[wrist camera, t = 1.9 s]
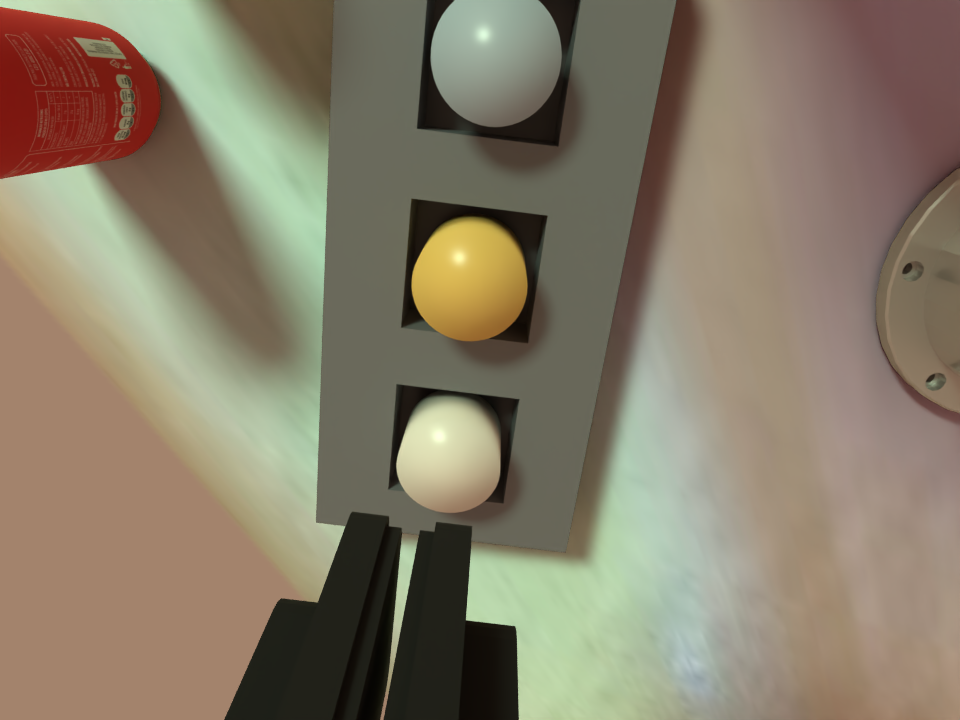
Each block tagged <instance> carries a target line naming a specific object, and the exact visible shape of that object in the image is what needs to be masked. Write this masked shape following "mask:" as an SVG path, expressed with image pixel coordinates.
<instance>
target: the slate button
mask: <svg viewBox="0 0 960 720" xmlns="http://www.w3.org/2000/svg"><path fill="white" fill-rule="evenodd" d="M561 59H562V51H561V42H560V37H559V33H558V29H557V27H556V25H555V22H554V20H553V18H552V17H551V15H550V13H549V12H548V10H547V9H546V8H545V7H544V5H543V4H542V3H541V2H540V1H539V0H455V1H454V2H453V3H452V4H451V5H450V6H449V7H448V8H447V9H446V11H445V12H444V13H443V15H442V17H441V19H440V20H439V22H438V24H437V27H436V29H435V32H434V36H433V39H432V46H431V67H432V72H433V77H434V80H435V83H436V86H437V88H438V90H439V92H440V94H441V95H442V97H443V98H444V100H445V101H446V102H447V104H448V105H449V106H450V107H451V108H452V109H453V110H454V111H455V112H456V113H457V114H459V115H460V116H462V117H463V118H465V119H467V120H469V121H471V122H473V123H476V124H479V125H483V126H488V127H503V126H508V125H513V124H515V123H518V122H521V121H523V120H525V119H526V118H528V117H530V116H531V115H532V114H534V113H535V112H536V111H537V110H538V109H539V108H541V107H542V105H543V104H544V103H545V102H546V101H547V99H548V98H549V96H550V95H551V93H552V91H553V89H554V87H555V85H556V82H557V79H558V77H559V73H560V68H561Z"/></svg>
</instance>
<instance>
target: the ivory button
mask: <svg viewBox="0 0 960 720" xmlns="http://www.w3.org/2000/svg"><path fill="white" fill-rule="evenodd" d="M500 457H501V426H500V422H499V419H498V416H497V414H496V412H495V410H494V409H493V408H492V406H491V405H490V404H489V403H488V402H487V401H486V400H484V399H483V398H482V397H480V396H478V395H477V394H473V393H465V392H457V391H449V390H439V391H436V392H433V393H431V394H429V395H427V396H426V397H424V398H423V399H422V400H420V401H419V402H418V403H417V405H416V406H415V407H414V409H413V410H412V412H411V414H410V417H409V420H408V423H407V426H406V430H405V433H404V437H403V440H402V443H401V447H400V450H399V453H398V457H397V475H398V478H399V481H400V483H401V485H402V487H403V489H404V490H405V492H406V493H407V494H408V495H409V496H410V497H411V498H412V499H413V500H414V501H416V502H417V503H418V504H420V505H422V506H424V507H426V508H428V509H431V510H434V511H438V512H444V513H457V512H463V511H467V510H470V509H472V508H475V507H477V506H478V505H480V504H481V503H483V502H484V501H485V500H486V499H488V498H489V497H490V495H491V494H492V493H493V491H494V490H495V488H496V486H497V484H498V481H499V477H500Z"/></svg>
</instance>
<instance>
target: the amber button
mask: <svg viewBox="0 0 960 720" xmlns="http://www.w3.org/2000/svg"><path fill="white" fill-rule="evenodd" d="M412 294H413V298H414V302H415V304H416V307H417V309H418V311H419V313H420V314H421V316H422V317H423V318H424V320H425V321H426V322H427V323H428V324H429V325H430V326H431V327H432V328H434V329H435V330H436V331H438V332H439V333H441V334H443V335H445V336H447V337H449V338H453V339H456V340H461V341H480V340H485V339H488V338H491V337H494V336H496V335H498V334H500V333H501V332H503V331H504V330H506V329H507V328H508V327H509V326H510V325H511V324H512V323H513V322H514V321H515V320H516V319H517V317H518V316H519V314H520V312H521V311H522V309H523V306H524V303H525V300H526V296H527V274H526V265H525V257H524V252H523V249H522V246H521V244H520V242H519V240H518V238H517V237H516V235H515V234H514V233H513V232H512V230H511V229H510V228H509V227H507V226H506V225H505V224H504V223H502V222H501V221H499V220H497V219H495V218H493V217H490V216H487V215H483V214H474V213H471V214H463V215H458V216H456V217H453V218H451V219H449V220H447V221H445V222H444V223H442V224H441V225H440V226H439V227H438V228H436V229H435V231H434V232H433V233H432V234H431V236H430V237H429V239H428V241H427V243H426V244H425V246H424V248H423V250H422V252H421V254H420V256H419V258H418V260H417V262H416V264H415V267H414V270H413V275H412Z"/></svg>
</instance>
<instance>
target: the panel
mask: <svg viewBox="0 0 960 720" xmlns="http://www.w3.org/2000/svg"><path fill="white" fill-rule="evenodd" d="M454 1H455V0H334V11H333V40H332V70H331V99H330V128H329V158H328V187H327V216H326V246H325V275H324V304H323V334H322V363H321V392H320V422H319V451H318V480H317V510H316V523H324V524H333V525H341V526H346V524H347V521H348V519H349V516H350V514H351V512H360V513H369V514H377V515H385V516H389V526H391V527H400V528H402V533H407V534H415V535H419V533H420V530H424V531H433V532H434V531H435V525H436V522H442V523H451V524H459V525H467V526H472V540H471V541H474V542H482V543H490V544H498V545H507V546H515V547H523V548H532V549H540V550H548V551H556V552H565V553H566V548H567V544H568V539H569V534H570V529H571V524H572V519H573V514H574V509H575V504H576V499H577V494H578V489H579V484H580V479H581V474H582V469H583V464H584V459H585V454H586V449H587V444H588V439H589V434H590V429H591V424H592V419H593V414H594V409H595V404H596V399H597V394H598V389H599V384H600V379H601V374H602V369H603V364H604V359H605V354H606V349H607V344H608V339H609V334H610V329H611V324H612V319H613V314H614V309H615V304H616V299H617V294H618V289H619V284H620V279H621V274H622V269H623V264H624V259H625V254H626V249H627V244H628V239H629V234H630V229H631V224H632V219H633V214H634V209H635V204H636V199H637V194H638V189H639V184H640V179H641V174H642V169H643V164H644V159H645V154H646V149H647V144H648V139H649V134H650V129H651V124H652V119H653V114H654V110H655V105H656V100H657V95H658V90H659V85H660V80H661V75H662V70H663V65H664V60H665V55H666V50H667V45H668V40H669V35H670V30H671V25H672V20H673V15H674V10H675V5H676V0H539V1H540V2H541V3H542V4H543V5H544V7H545V8H546V9H547V10H548V12H549V13H550V15H551V17H552V18H553V20H554V22H555V25H556V27H557V29H558V33H559V37H560V42H561V51H562V59H561V68H560V73H559V77H558V79H557V82H556V85H555V87H554V89H553V91H552V93H551V95H550V96H549V98H548V99H547V101H546V102H545V103H544V104H543V105H542V107H541V108H539V109H538V110H537V111H536V112H535V113H534V114H532V115H531V116H530V117H528V118H526V119H525V120H523V121H521V122H518V123H515V124H513V125H508V126H503V127H488V126H483V125H479V124H476V123H473V122H471V121H469V120H467V119H465V118H463V117H462V116H460V115H459V114H457V113H456V112H455V111H454V110H453V109H452V108H451V107H450V106H449V105H448V104H447V102H446V101H445V100H444V98H443V97H442V95H441V94H440V92H439V90H438V88H437V86H436V83H435V80H434V77H433V72H432V67H431V46H432V39H433V36H434V32H435V29H436V27H437V24H438V22H439V20H440V19H441V17H442V15H443V13H444V12H445V11H446V9H447V8H448V7H449V6H450V5H451V4H452V3H453V2H454ZM471 213H474V214H483V215H487V216H490V217H493V218H495V219H497V220H499V221H501V222H502V223H504V224H505V225H506V226H507V227H509V228H510V229H511V230H512V232H513V233H514V234H515V235H516V237H517V238H518V240H519V242H520V244H521V246H522V249H523V252H524V257H525V265H526V274H527V296H526V300H525V303H524V306H523V309H522V311H521V312H520V314H519V316H518V317H517V319H516V320H515V321H514V322H513V323H512V324H511V325H510V326H509V327H508V328H507V329H506V330H504V331H503V332H501V333H500V334H498V335H496V336H494V337H491V338H488V339H485V340H480V341H461V340H456V339H453V338H449V337H447V336H445V335H443V334H441V333H439V332H438V331H436V330H435V329H434V328H432V327H431V326H430V325H429V324H428V323H427V322H426V321H425V320H424V318H423V317H422V316H421V314H420V313H419V311H418V309H417V307H416V304H415V302H414V298H413V294H412V275H413V270H414V267H415V264H416V262H417V260H418V258H419V256H420V254H421V252H422V250H423V248H424V246H425V244H426V243H427V241H428V239H429V237H430V236H431V234H432V233H433V232H434V231H435V229H436V228H438V227H439V226H440V225H441V224H442V223H444V222H445V221H447V220H449V219H451V218H453V217H456V216H458V215H463V214H471ZM439 390H449V391H457V392H465V393H473V394H477V395H478V396H480V397H482V398H483V399H484V400H486V401H487V402H488V403H489V404H490V405H491V406H492V408H493V409H494V410H495V412H496V414H497V416H498V419H499V422H500V426H501V457H500V477H499V481H498V484H497V486H496V488H495V490H494V491H493V493H492V494H491V495H490V497H489V498H488V499H486V500H485V501H484V502H483V503H481V504H480V505H478V506H477V507H475V508H472V509H470V510H467V511H463V512H457V513H444V512H438V511H434V510H431V509H428V508H426V507H424V506H422V505H420V504H418V503H417V502H416V501H414V500H413V499H412V498H411V497H410V496H409V495H408V494H407V493H406V492H405V490H404V489H403V487H402V485H401V483H400V481H399V478H398V475H397V457H398V453H399V450H400V447H401V443H402V440H403V437H404V433H405V430H406V426H407V423H408V420H409V417H410V414H411V412H412V410H413V409H414V407H415V406H416V405H417V403H418V402H419V401H420V400H422V399H423V398H424V397H426V396H427V395H429V394H431V393H433V392H436V391H439Z"/></svg>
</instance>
